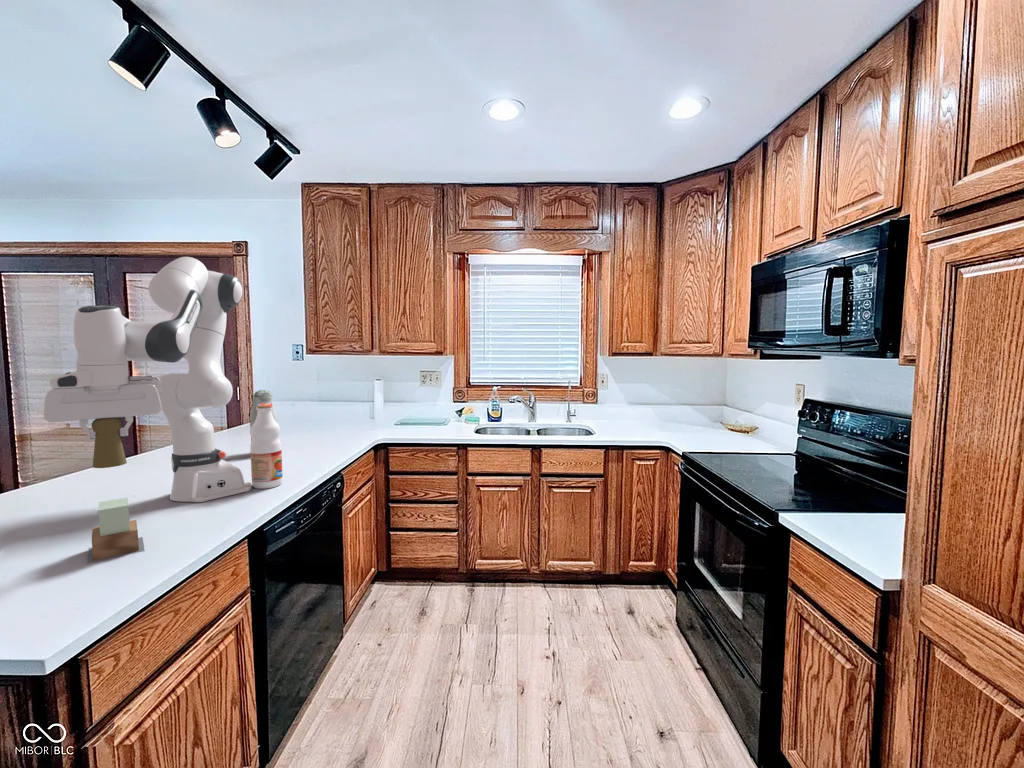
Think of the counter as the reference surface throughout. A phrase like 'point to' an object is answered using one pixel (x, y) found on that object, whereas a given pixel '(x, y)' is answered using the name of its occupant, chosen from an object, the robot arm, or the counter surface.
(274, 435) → the fruit juice
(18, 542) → the counter surface
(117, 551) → the walnut base block
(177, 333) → the robot arm
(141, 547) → the slate coaster
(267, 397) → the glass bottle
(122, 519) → the sage block
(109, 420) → the cork
